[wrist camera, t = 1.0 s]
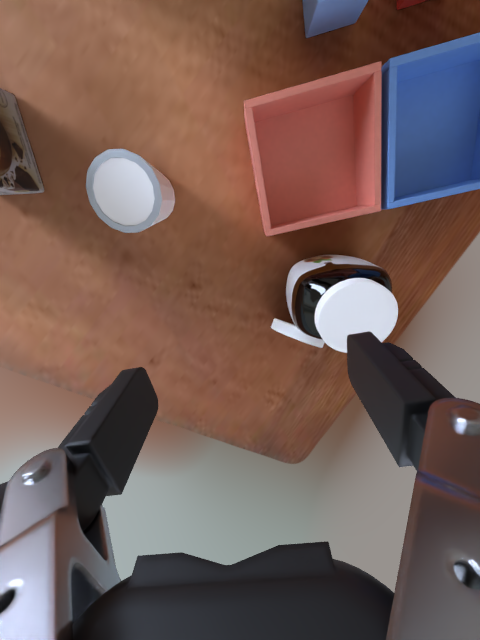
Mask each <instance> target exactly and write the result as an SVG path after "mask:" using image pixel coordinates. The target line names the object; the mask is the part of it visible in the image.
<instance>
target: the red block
mask: <svg viewBox="0 0 480 640" xmlns="http://www.w3.org/2000/svg"><path fill="white" fill-rule="evenodd" d="M425 1H428V0H397V10H399V9H403V8H406V7H409V6H412V5H415V4H419V3H422V2H425Z"/></svg>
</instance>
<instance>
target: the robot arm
mask: <svg viewBox="0 0 480 640" xmlns="http://www.w3.org/2000/svg"><path fill="white" fill-rule="evenodd" d="M347 363H348V375H349V379H350V382H351V384H352V386H353V388H354V390H355V392H356V393H357V395H358V397H359V398H360V400H361V402H362V403H363V405H364V407H365V409H366V411H367V412H368V414H369V416H370V417H371V419H372V421H373V422H374V424H375V426H376V428H377V430H378V431H379V433H380V435H381V436H382V438H383V440H384V442H385V443H386V445H387V447H388V449H389V450H390V452H391V454H392V455H393V457H394V459H395V461H396V462H397V464H398V466H399V467H403V466H414V467H415V468H416V470H417V474H416V478H415V483H414V489H413V495H412V500H411V505H410V511H409V516H408V522H407V527H406V533H405V538H404V544H403V549H402V555H401V560H400V566H399V571H398V576H397V582H396V587H395V593H393V592H392V591H391V590H390V589H389V588H387V587H386V586H385V585H384V584H382V583H381V582H380V581H378V580H377V579H375V578H374V577H373V576H371V575H369V574H368V573H366V572H364V571H362V570H361V569H359V568H357V567H355V566H352V565H350V564H348V563H345V562H342V561H338V560H335V559H332V555H331V551H330V547H329V543H328V542H315V543H303V544H289V545H278V546H276V547H273V548H271V549H269V550H266V551H264V552H261V553H259V554H256V555H254V556H252V557H249V558H247V559H245V560H242V561H240V562H237V563H235V564H232V565H222V564H219V563H215V562H212V561H209V560H205V559H201V558H198V557H195V556H192V555H188V554H185V553H170V554H156V555H143V556H138V557H137V560H136V563H135V567H134V570H133V573H132V576H130V577H128V578H126V579H124V580H123V581H121V579H120V577H119V575H118V572H117V569H116V565H115V560H114V555H113V550H112V544H111V539H110V533H109V528H108V522H107V517H106V512H105V509H104V507H103V506H102V503H103V501H104V498H105V496H110V495H120V494H122V492H123V490H124V487H125V485H126V483H127V480H128V478H129V476H130V473H131V471H132V469H133V466H134V464H135V462H136V460H137V457H138V455H139V453H140V450H141V448H142V446H143V443H144V441H145V439H146V436H147V434H148V432H149V430H150V427H151V425H152V423H153V420H154V418H155V416H156V414H157V411H158V398H157V395H156V393H155V391H154V388H153V386H152V384H151V381H150V379H149V377H148V374H147V372H146V370H145V369H144V368H142V367H139V368H133V369H127V370H123V371H121V372H120V374H119V375H118V376H117V378H116V379H115V380H114V382H113V383H112V384H111V385H110V386H109V387H107V388H106V389H105V390H104V391H102V392H101V393H100V394H99V395H98V397H97V398H96V399H95V400H94V402H93V403H92V406H90V407H89V408H88V409H87V411H86V412H85V415H83V416H82V417H81V418H80V420H79V421H78V422H77V424H76V425H75V426H74V427H73V429H72V430H71V431H70V433H69V434H68V435H67V436H66V438H65V439H64V440H63V441H62V443H61V444H60V445H59V447H58V448H53V449H49V450H46V451H44V452H42V453H40V454H38V455H36V456H34V457H33V458H31V459H30V460H29V461H27V462H26V463H25V464H24V465H22V466H21V467H20V468H19V469H18V470H17V471H16V472H15V473H14V475H13V476H12V477H11V479H10V480H9V481H8V482H5V483H3V484H0V640H480V404H479V403H476V402H473V401H469V400H465V399H459V398H455V397H454V396H453V395H452V394H451V393H450V392H449V391H448V390H447V389H446V388H445V387H443V386H442V385H441V384H440V383H439V382H438V381H437V380H436V379H435V378H434V377H433V376H432V375H431V374H429V373H428V372H427V371H426V370H425V369H424V368H422V367H421V365H420V364H419V363H418V362H416V361H415V360H413V358H412V357H411V356H410V355H409V354H408V353H407V352H406V351H405V350H404V349H402V348H400V347H397V346H396V345H393V344H391V343H389V342H387V343H381V342H380V341H379V339H378V338H377V337H376V336H375V335H374V334H373V333H372V332H370V331H368V332H362V333H356V334H350V335H348V336H347Z"/></svg>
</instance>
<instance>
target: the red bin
mask: <svg viewBox="0 0 480 640" xmlns="http://www.w3.org/2000/svg"><path fill="white" fill-rule="evenodd" d="M381 66H382V62H381V61H379V62H376V63H373V64H369V65H366V66H362V67H359V68H355V69H352V70H348V71H345V72H342V73H338V74H335V75H331V76H328V77H324V78H321V79H317V80H314V81H310V82H307V83H304V84H300V85H297V86H293V87H290V88H286V89H283V90H279V91H276V92H273V93H269V94H266V95H262V96H259V97H255V98H252V99H248V100H245V101H244V117H245V125H246V131H247V137H248V143H249V149H250V154H251V160H252V166H253V172H254V178H255V184H256V189H257V195H258V201H259V207H260V213H261V218H262V224H263V230H264V233H265V234H266V236H271V235H276V234H280V233H285V232H289V231H294V230H298V229H303V228H307V227H312V226H316V225H320V224H325V223H329V222H334V221H338V220H343V219H347V218H352V217H356V216H361V215H365V214H370V213H374V212H378V211H381V98H382V71H381Z"/></svg>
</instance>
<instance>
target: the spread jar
mask: <svg viewBox="0 0 480 640" xmlns="http://www.w3.org/2000/svg"><path fill="white" fill-rule="evenodd" d="M286 299H287V305H288V309H289V313H290V315H291V318H292V320H293V322H294V324H295V325H294V324H291V323H288V322H285V321H282V320H279V319H276V318H274V320H273V323H272V326H271V328H272V329H273V330H275V331H277V332H279V333H282V334H284V335H286V336H289V337H291V338H294V339H296V340H299V341H302V342H304V343H307V344H310V345H313V346H316V347H320V348H323V345H324V343H326V344H327V345H328V346H330V347H331V348H333V349H335V350H337V351H340V352H345V353H347V336H348V335H350V334H356V333H362V332H368V331H370V332H372V333H373V334H374V335H375V336H376V337H377V338H378V339H379V341H380V342H382V341H384V340H385V339H386V338H387V337H388V335H389V334H390V333H391V332H392V330H393V328H394V326H395V324H396V321H397V318H398V306H397V302H396V299H395V297H394V296H393V294H392V283H391V279H390V276H389V275H388V273H387V272H386V271H385V270H384V269H383V268H381V267H379V266H377V265H375V264H372V263H370V262H368V261H366V260H363V259H360V258H356V257H351V256H344V255H319V256H314V257H310V258H307V259H304V260H302V261H300V262H298V263H296V264H295V265H294V266H293V267H292V268H291V270H290V272H289V274H288V278H287V284H286Z"/></svg>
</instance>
